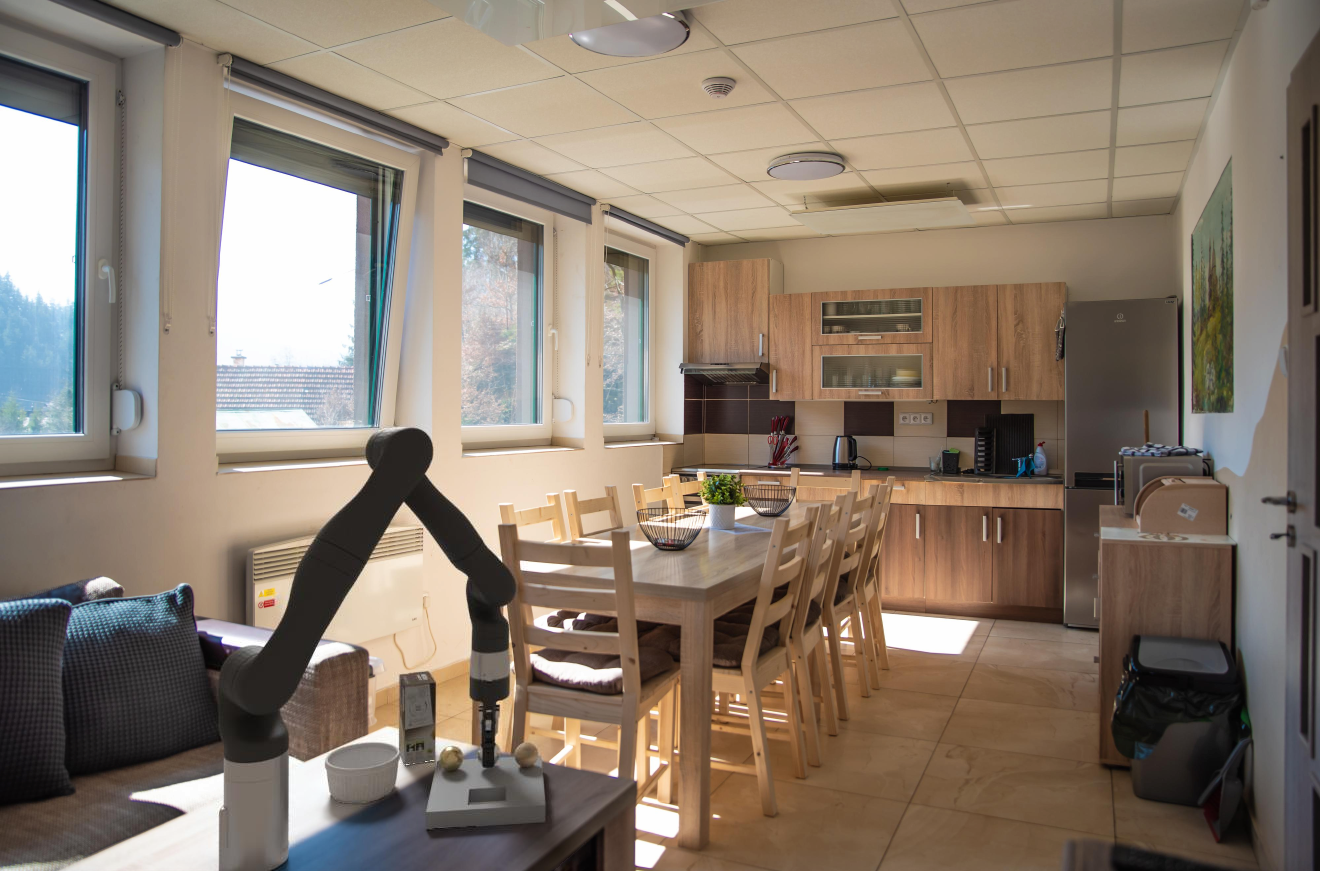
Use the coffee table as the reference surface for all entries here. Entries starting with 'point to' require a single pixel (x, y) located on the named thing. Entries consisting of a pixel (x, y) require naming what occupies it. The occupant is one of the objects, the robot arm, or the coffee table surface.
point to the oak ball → (526, 754)
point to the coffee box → (417, 717)
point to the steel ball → (496, 754)
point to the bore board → (486, 795)
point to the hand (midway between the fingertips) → (488, 761)
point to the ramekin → (362, 771)
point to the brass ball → (451, 758)
